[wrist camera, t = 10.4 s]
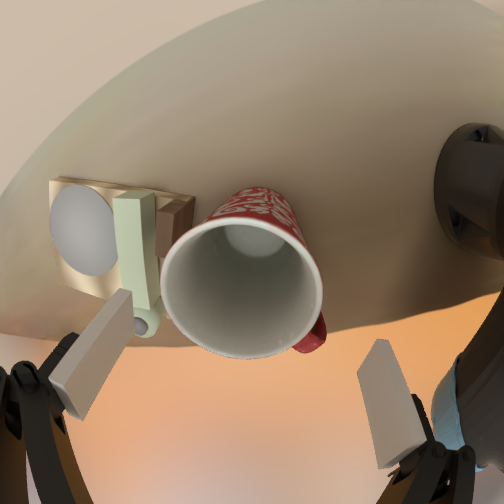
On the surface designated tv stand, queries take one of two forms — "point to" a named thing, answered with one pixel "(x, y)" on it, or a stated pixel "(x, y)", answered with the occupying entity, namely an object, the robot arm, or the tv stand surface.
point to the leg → (139, 257)
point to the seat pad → (84, 230)
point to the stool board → (104, 286)
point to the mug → (245, 280)
